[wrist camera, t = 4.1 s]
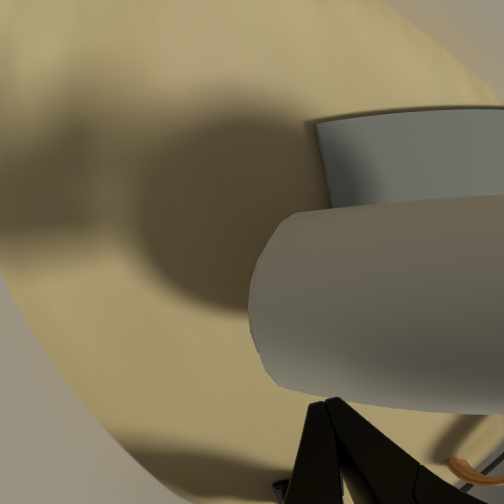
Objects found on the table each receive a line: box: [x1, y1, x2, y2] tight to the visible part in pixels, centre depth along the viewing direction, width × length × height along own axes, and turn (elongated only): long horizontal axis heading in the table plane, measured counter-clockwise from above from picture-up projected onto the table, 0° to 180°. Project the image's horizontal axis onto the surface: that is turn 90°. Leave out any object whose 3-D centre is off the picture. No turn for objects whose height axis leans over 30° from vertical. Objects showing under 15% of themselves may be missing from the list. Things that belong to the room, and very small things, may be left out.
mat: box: [314, 109, 504, 208], centre depth 16 cm, size 15×16×1 cm
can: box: [248, 194, 504, 415], centre depth 10 cm, size 8×8×12 cm
